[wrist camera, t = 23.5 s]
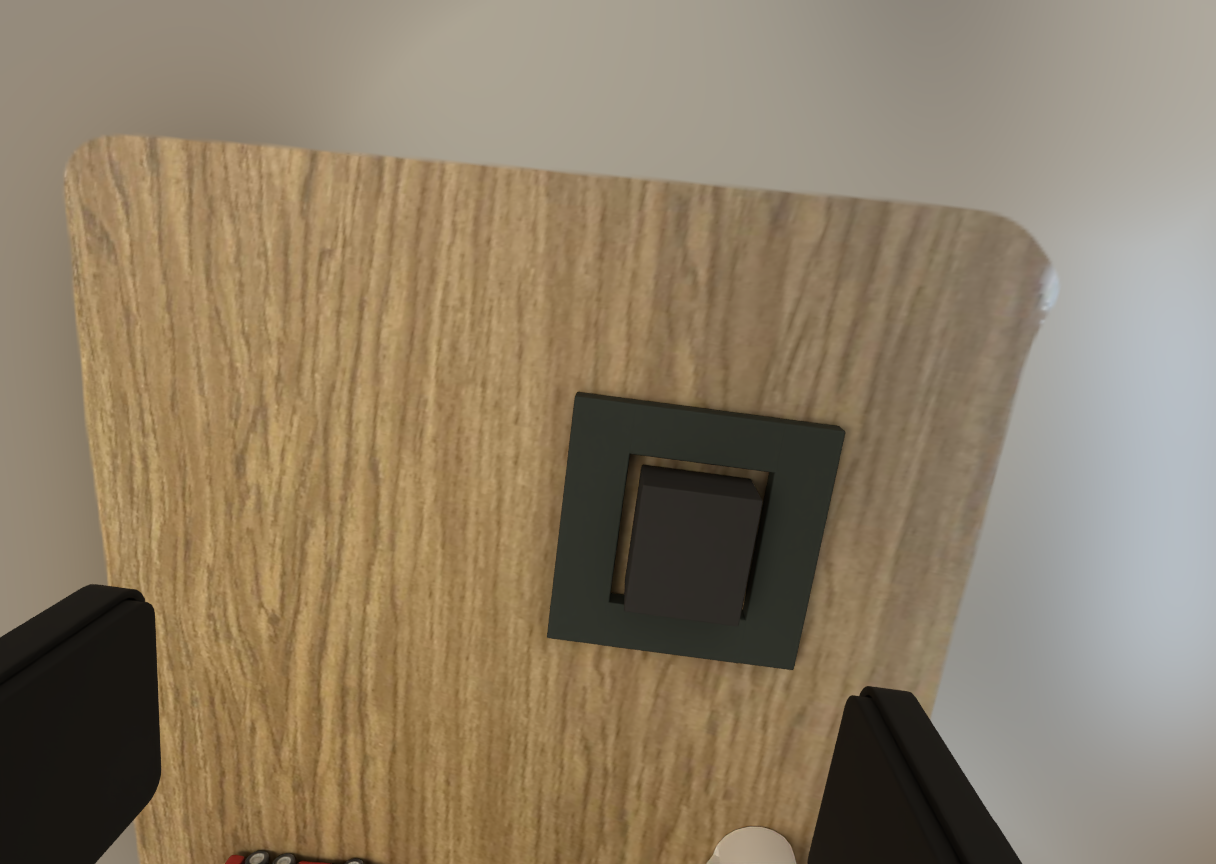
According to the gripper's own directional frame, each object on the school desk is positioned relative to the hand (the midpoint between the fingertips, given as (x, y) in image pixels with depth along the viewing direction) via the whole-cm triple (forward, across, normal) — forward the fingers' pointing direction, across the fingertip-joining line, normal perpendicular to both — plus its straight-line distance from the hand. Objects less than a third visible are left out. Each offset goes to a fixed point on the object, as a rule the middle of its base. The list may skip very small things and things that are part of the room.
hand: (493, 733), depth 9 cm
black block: (+28, -6, +8) cm, 30 cm away
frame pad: (+28, -6, +8) cm, 30 cm away
